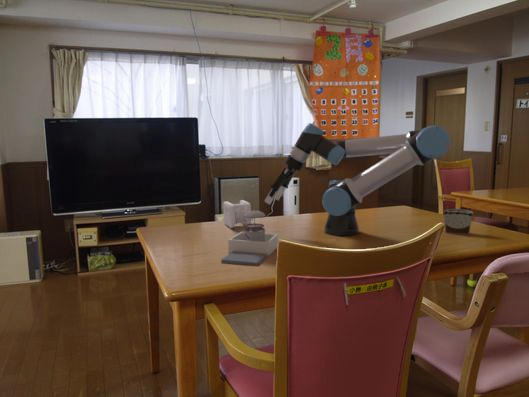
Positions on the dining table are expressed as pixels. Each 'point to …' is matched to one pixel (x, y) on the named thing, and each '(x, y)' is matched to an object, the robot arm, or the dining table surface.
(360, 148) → the robot arm
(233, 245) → the white open storage bin
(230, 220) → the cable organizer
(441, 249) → the dining table surface
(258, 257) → the rubber mat
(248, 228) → the french press
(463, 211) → the food container
